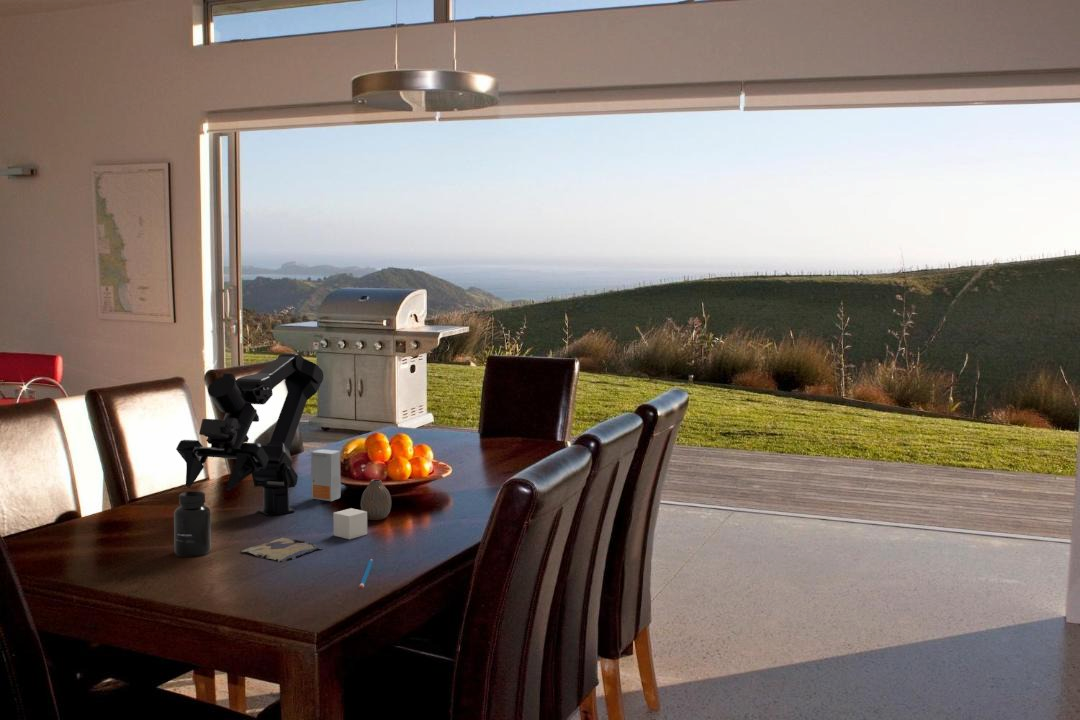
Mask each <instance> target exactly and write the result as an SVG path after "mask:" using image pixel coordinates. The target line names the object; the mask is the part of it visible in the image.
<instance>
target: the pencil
mask: <svg viewBox="0 0 1080 720" xmlns="http://www.w3.org/2000/svg"><path fill="white" fill-rule="evenodd" d="M372 566H373V559H372V558H371V559H369V560H368V562H367V565H366V568H365V570H364V573H363V576H362V578H361V580H360V583H359V586H358V589H364V587H365V585H366V582H367V579H368V576H369V573H370V571H371V568H372Z"/></svg>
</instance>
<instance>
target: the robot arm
mask: <svg viewBox="0 0 1080 720" xmlns="http://www.w3.org/2000/svg"><path fill="white" fill-rule="evenodd" d="M283 381H284V383H285V386H286V390H287V392H286V397H285V399H284V402H283V405H282V407H281V409H280V412H279V415H278V418H277V421H276V423H275V426H274V429H273V431H272V434H271V437H270V440H269V442H268V443H267V444H266V445H265V444H261V443H259V442H258V443H257V442H248V441H249V439H250V438H249V436H248V433H249V430H250V428H251V427H252V424H253V422H255V423H257V422H259V421H260V416H259V414H258V412H257V409H256V408H255V407H254V406H253V405H265V404H266V403H268V401H269V400H270V399H271V397H272V396H273V389H274V388H275V387H277V386H278V385H280V384H281V383H282V382H283ZM323 381H324V371H323V369H321V368H320V366H319V365H317V364H316V363H315V362H313V361H310V360H308V359H306V358H304V357H303V356H302V355H301V354H298V353H291V352H290V353H288V352H287V353H286V352H285V353H284V352H283V353H281V354H279V355H278V357H276V359H275V360H273V361H272V362H271V363H269V364H268V365H266V366H265V367H264V368H262V369H261V370H260V371H258V372H257V373H253V374H248V375H247V374H246V375H244V376H241V377H238V378H236V377H235V375H234V373H231V372H229V373H227V372H224V373H223V374H222V376H221V377H218V378H216V379H214V380H213V381H212V382H211V383H209V385H208V387H207V393H208V394H209V396H210V398H211V399H212V401H213V402H214V404H215V405H216V406H217V408H218V410H219V411H220V412H221V413H225V415H224V417H223V419H214V418H202V420H201V425H200V428H199V435H200V436H204V437H206V442H207V443H208V444H209V445H210V446H203V445H202V443H201V442H200V440H197V439H182V440H180V441H179V442H178V444H177V447H176V448H175V449H176V451H177V452H178V454H179V455H180V456H181V458H182V459H183V460H184V461H185V463H186V469H185V470H186V471H185V473H186V474H185V487H186V488H188V489H189V488H191V486H192V485H193V484H194V483H195V482H196V480H197V478H198V477H199V475H200V474H201V473H202V471H203V469H204V468H205V466H204V465H203V464H205V463H206V462H207V459H208V458H221V459H229V460H230V459H233V460H235V464H234V467H233V470H232V471H231V473H230V476H229V478H228V480H227V483H226V486H225V489H226V490H227V491H231V490H232V489H233V488H234V487H236V486H238V484H239V483H241V482H242V481H244V479H246V478H248V477H249V476H250V475H251V477H252V481H253V485H254V486H253V487H256V488H257V487H259V488H262V494H263V495H262V497H263V498H262V499H263V501H262V502H263V507H260V508H258V509H257V510H258V512H259V513H261V514H264V515H266V516H267V517H270V516H275V515H276V516H277V515H283V514H289V513H295V509H294V508H293V507H290V505H289V504H290V501H289V497H290V496H289V495H290V494H289V489H290V488H296V485H297V484H298V477H299V476H298V474H297V472H296V471H295V469H294V468H293V465H292V464H293V459H292V456H291V452H290V450H291V447H292V445H293V441H294V439H295V435H296V434H297V433H296V432H297V430H298V427H299V424H300V422H301V421H300V420H301V419H302V415H303V413H304V409H305V407H306V404H307V402H308V400H310V399H311V397H313V396H314V395H316V394H317V392H318V391H319V389H320V387H321V384H322V383H323Z"/></svg>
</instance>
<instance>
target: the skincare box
mask: <svg viewBox="0 0 1080 720" xmlns="http://www.w3.org/2000/svg"><path fill="white" fill-rule="evenodd" d="M310 455H311V456H310V466H311V468H310V469H311V471H310V473H311V474H310V475H311V481H310V482H311V483H310V484H311V488H310V489H311V499H312V500H321V501H326V502H333V501H335V500H336V501H337V500H339V499H340V498H341V451H340V450H334V449H333V450H332V449H322V448H320V449H317V450H316V449H315V450H313V451H311V453H310Z"/></svg>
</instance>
